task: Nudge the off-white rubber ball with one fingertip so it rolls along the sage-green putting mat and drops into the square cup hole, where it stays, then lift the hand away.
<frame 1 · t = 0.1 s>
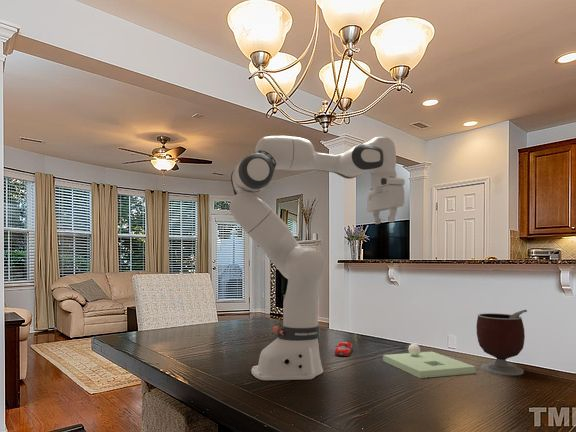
hand: (384, 222, 147), 48 cm above the table, fingers open, 8 cm apart
race car: (344, 354, 159), on the table
mate gourd: (504, 371, 135), on the table
ball: (414, 349, 146), point 4 cm above the table, touching putting mat
putting mat: (426, 366, 139), on the table
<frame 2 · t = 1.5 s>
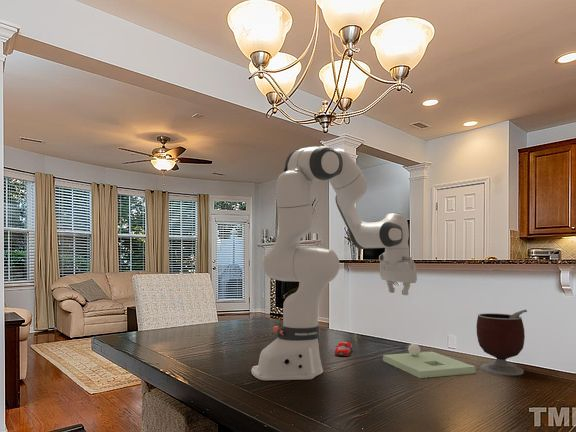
hand: (398, 293, 157), 22 cm above the table, fingers open, 8 cm apart
nothing on the table moved.
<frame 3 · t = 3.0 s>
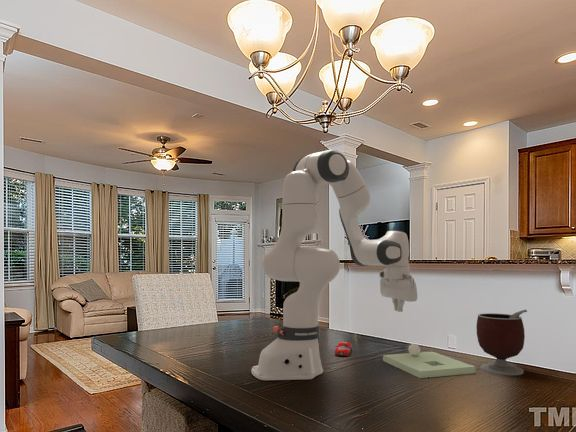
hand: (398, 311, 157), 16 cm above the table, fingers closed
nothing on the table moved.
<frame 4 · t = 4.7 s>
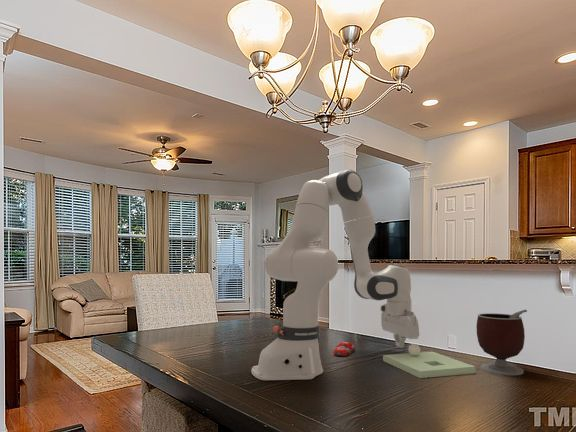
hand: (399, 347, 155), 3 cm above the table, fingers closed
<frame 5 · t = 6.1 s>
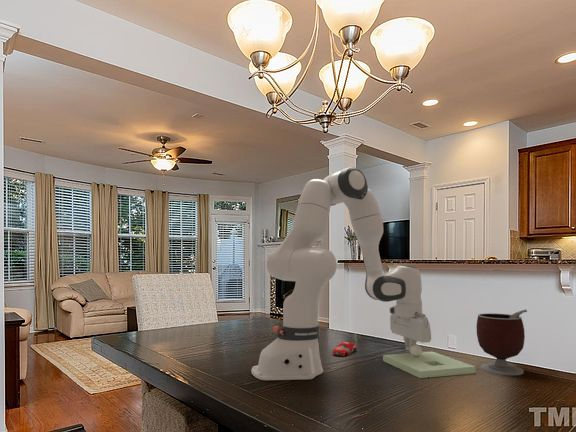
hand: (410, 350, 149), 3 cm above the table, fingers closed
ball: (416, 350, 146), point 4 cm above the table, tilted 26°, touching gripper, putting mat
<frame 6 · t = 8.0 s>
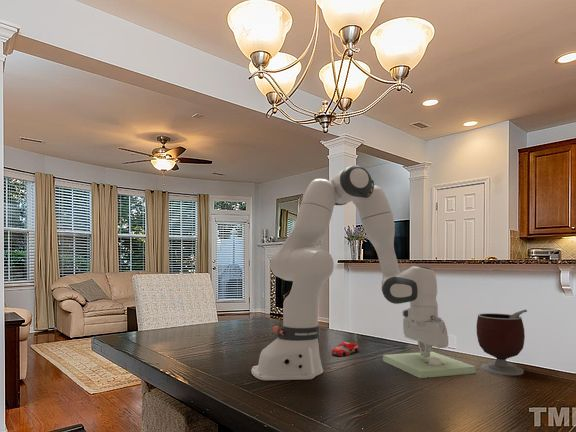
hand: (425, 356, 140), 3 cm above the table, fingers closed
ball: (435, 363, 135), point 2 cm above the table
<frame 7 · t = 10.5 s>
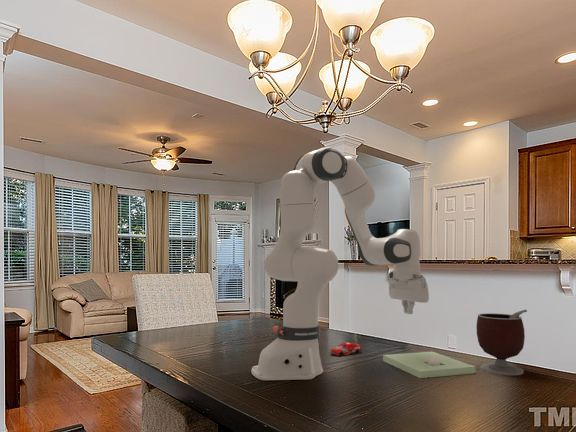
hand: (408, 313, 150), 16 cm above the table, fingers closed
ball: (433, 363, 136), point 2 cm above the table, tilted 23°
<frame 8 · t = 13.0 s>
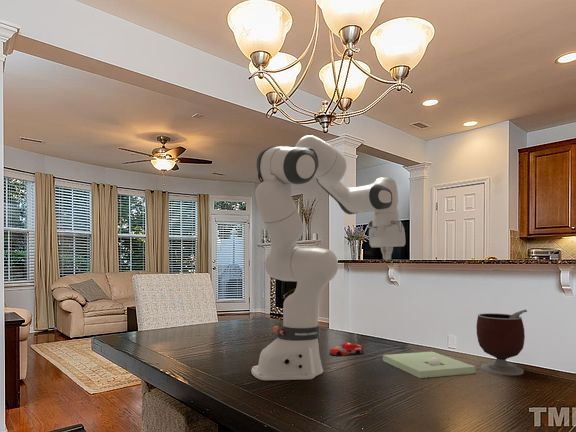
hand: (387, 259, 154), 35 cm above the table, fingers closed
ball: (434, 363, 136), point 2 cm above the table, tilted 13°
at the end: ball 0.1 cm from the target spot on the putting mat, point 2.0 cm above the putting mat's base; ball touching table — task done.
